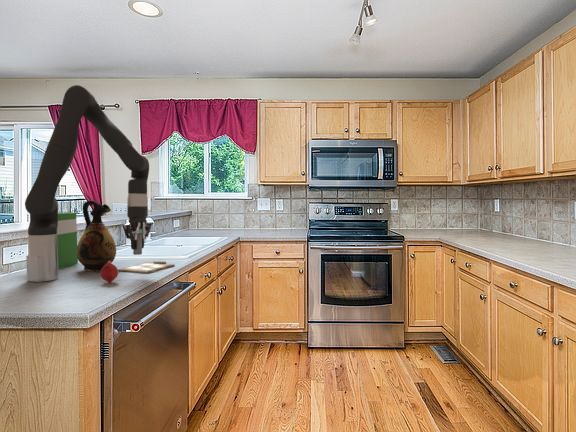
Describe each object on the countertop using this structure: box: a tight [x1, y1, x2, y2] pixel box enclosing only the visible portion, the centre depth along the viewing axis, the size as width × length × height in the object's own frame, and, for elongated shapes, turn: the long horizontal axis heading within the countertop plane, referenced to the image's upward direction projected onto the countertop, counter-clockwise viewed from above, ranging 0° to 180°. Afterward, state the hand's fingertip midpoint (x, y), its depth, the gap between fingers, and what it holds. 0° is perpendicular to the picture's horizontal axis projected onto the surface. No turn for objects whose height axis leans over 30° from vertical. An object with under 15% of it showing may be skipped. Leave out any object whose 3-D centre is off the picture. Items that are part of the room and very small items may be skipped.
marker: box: [132, 229, 143, 256], centre depth 151 cm, size 3×3×10 cm
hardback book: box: [57, 212, 79, 270], centre depth 172 cm, size 18×7×24 cm, turn 178°
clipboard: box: [117, 260, 176, 274], centre depth 167 cm, size 18×15×2 cm
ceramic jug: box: [77, 199, 117, 272], centre depth 165 cm, size 17×15×30 cm
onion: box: [100, 261, 119, 284], centre depth 140 cm, size 6×6×8 cm
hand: (137, 248), depth 152 cm, fingers closed on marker, 3 cm apart
